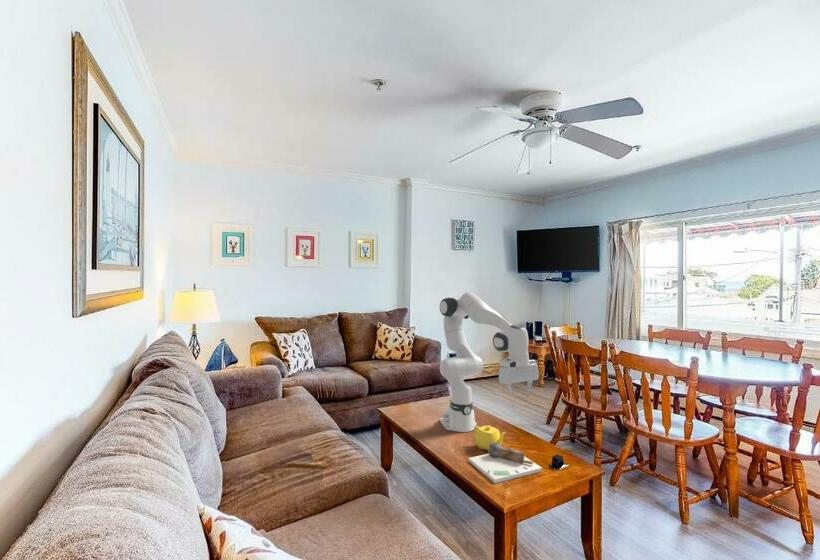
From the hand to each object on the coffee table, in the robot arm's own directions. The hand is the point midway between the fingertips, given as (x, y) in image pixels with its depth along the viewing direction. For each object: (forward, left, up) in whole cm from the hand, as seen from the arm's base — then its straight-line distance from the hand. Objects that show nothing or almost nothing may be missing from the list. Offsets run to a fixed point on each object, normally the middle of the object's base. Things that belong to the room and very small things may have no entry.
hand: (519, 391), depth 176 cm
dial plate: (+3, -11, -31) cm, 33 cm away
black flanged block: (+12, +11, -31) cm, 35 cm away
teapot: (-14, -7, -31) cm, 34 cm away
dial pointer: (+2, -7, -28) cm, 29 cm away
